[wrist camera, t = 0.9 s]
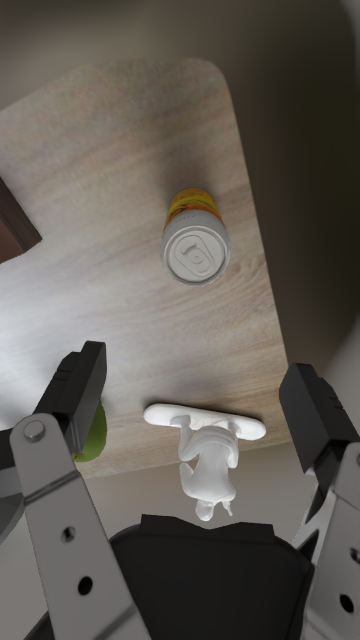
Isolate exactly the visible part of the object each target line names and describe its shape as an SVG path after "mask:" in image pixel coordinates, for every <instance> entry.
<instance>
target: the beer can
mask: <svg viewBox="0 0 360 640" xmlns="http://www.w3.org/2000/svg"><path fill="white" fill-rule="evenodd" d="M230 257H231V243H230V239H229V236H228V234H227V231H226V229H225V226H224V224H223V221H222V219H221V216H220V213H219V211H218V208H217V206H216V203H215V201H214V199H213V198H212V197H211V196H210V195H209V194H208V193H207V192H205V191H204V190H201V189H197V188H190V189H186V190H183V191H181V192H180V193H178V194H177V195H176V196H175V197H174V198H173V200H172V202H171V204H170V206H169V210H168V214H167V219H166V223H165V227H164V231H163V236H162V240H161V244H160V259H161V262H162V265H163V267H164V269H165V270H166V271H167V273H168V274H169V275H170V276H171V277H172V278H173V279H174V280H176V281H177V282H179V283H181V284H183V285H186V286H191V287H199V286H204V285H207V284H210V283H212V282H213V281H215V280H216V279H217V278H218V277H219V276H220V275H221V274H222V273H223V271H224V270H225V269H226V267H227V265H228V263H229V261H230Z"/></svg>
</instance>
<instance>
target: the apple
mask: <svg viewBox="0 0 360 640" xmlns="http://www.w3.org/2000/svg"><path fill="white" fill-rule="evenodd" d="M106 436H107V424H106V417H105V411H104V409H103V407H102V405H101V404H100V402H98V405H97V408H96V411H95V414H94V417H93V420H92V423H91V426H90V429H89V432H88V435H87V438H86V441H85V444H84V447H83V450H82V453H81V454H76V453H72V458H73V461H75V462H86V461H90V460H92V459H94V458H96V457H98V456H99V455H100V453H101V452H102V450H103V449H104V446H105V444H106Z"/></svg>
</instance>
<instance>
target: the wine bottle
mask: <svg viewBox="0 0 360 640" xmlns="http://www.w3.org/2000/svg"><path fill="white" fill-rule="evenodd" d="M23 502H24V498H23V493H18V494H14V495H10V496H6V497H2V498H0V544H1V543H2V542H3V541H4V540H5V539H6V537H7V536H8V535H9V534H10V533H11V531H12V530H13V529H14V527H15V526H16V524H17V523H18V521H19V520H20V518H21V517H22V515H23V513H24V505H23Z"/></svg>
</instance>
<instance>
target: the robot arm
mask: <svg viewBox="0 0 360 640" xmlns="http://www.w3.org/2000/svg"><path fill="white" fill-rule="evenodd" d="M106 374H107V360H106V344H105V342H96V341H86V342H85V344H84V346H83V348H82V350H81V352H71V353H70V354H69V355H67V356H66V357H65V358H64V359H62V361H61V363H60V365H59V367H58V368H57V372H55V374H54V376H53V378H52V380H51V381H50V383H49V385H48V387H47V388H46V390H45V392H44V394H43V396H42V398H41V399H40V401H39V403H38V405H37V407H36V409H35V410H34V412H33V413H32V415H29V416H27V417H25V418H24V419H22V420H21V421H19V422H18V423H17V424H16V425H15V427H13V428H10V429H7V430H2V431H0V498H2V497H6V496H10V495H14V494H18V493H23V498H24V502H23V505H24V510H25V514H26V519H27V523H28V527H29V532H30V536H31V540H32V544H33V548H34V552H35V556H36V561H37V565H38V569H39V573H40V577H41V582H42V586H43V590H44V594H45V598H46V602H47V607H48V611H47V612H46V613H45V614H44V615H43V617H42V618H41V619H40V620H39V621H38V623H37V624H36V625H35V626H34V627H33V629H32V630H31V631H30V632H29V633H28V635H27V636H26V637H25V638H24V639H23V640H360V437H359V435H358V434H357V431H356V430H355V428H354V426H353V424H352V422H351V420H350V419H349V417H348V415H347V413H346V411H345V410H344V409H343V406H342V404H341V402H340V401H339V400H338V397H337V395H336V393H335V392H334V390H333V388H332V387H331V386H330V385H329V384H328V383H327V382H326V381H325V380H324V379H323V378H320V377H318V376H317V374H316V372H315V370H314V368H313V366H312V365H310V364H302V363H291V364H290V366H289V368H288V370H287V372H286V374H285V377H284V379H283V381H282V383H281V385H280V388H279V400H280V403H281V406H282V409H283V412H284V415H285V418H286V421H287V424H288V427H289V430H290V433H291V436H292V439H293V442H294V445H295V448H296V451H297V454H298V457H299V460H300V463H301V466H302V469H303V472H304V474H305V475H316V477H317V480H318V483H317V484H316V485H315V488H314V490H313V494H312V496H311V499H310V501H309V504H308V507H307V509H306V512H305V515H304V518H303V520H302V523H301V526H300V528H299V530H298V532H297V534H296V536H295V537H294V539H293V541H292V543H291V544H289V543H288V542H286V541H284V540H283V539H281V538H279V537H277V536H275V535H274V530H273V525H271V524H260V523H247V522H239V523H235V524H231V525H227V526H223V527H219V528H215V529H210V530H209V529H204V528H202V527H199V526H196V525H194V524H192V523H189V522H186V521H184V520H181V519H179V518H176V517H171V516H158V515H146V514H142V518H141V523H140V524H137V525H133V526H130V527H128V528H125V529H123V530H122V531H120V532H118V533H117V534H115V535H114V536H112V537H111V538H110V539H109V540H108V538H107V535H106V533H105V530H104V528H103V526H102V523H101V521H100V518H99V516H98V513H97V511H96V509H95V506H94V504H93V501H92V499H91V496H90V494H89V492H88V489H87V487H86V484H85V482H84V480H83V477H82V475H81V473H80V472H78V470H77V468H76V466H75V463H74V461H73V458H72V453H76V454H81V453H82V450H83V447H84V444H85V441H86V438H87V435H88V432H89V429H90V426H91V423H92V420H93V417H94V414H95V411H96V408H97V405H98V402H99V399H100V396H101V393H102V390H103V387H104V384H105V380H106Z"/></svg>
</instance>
